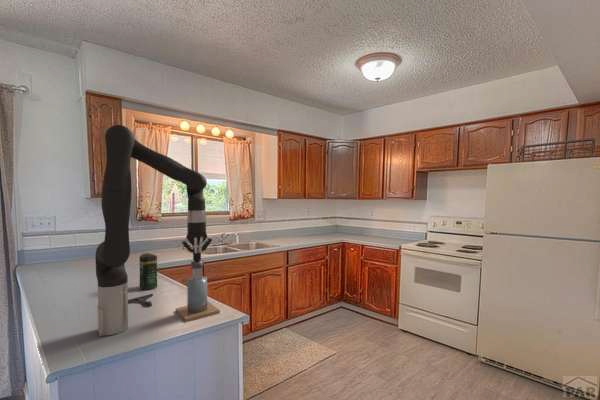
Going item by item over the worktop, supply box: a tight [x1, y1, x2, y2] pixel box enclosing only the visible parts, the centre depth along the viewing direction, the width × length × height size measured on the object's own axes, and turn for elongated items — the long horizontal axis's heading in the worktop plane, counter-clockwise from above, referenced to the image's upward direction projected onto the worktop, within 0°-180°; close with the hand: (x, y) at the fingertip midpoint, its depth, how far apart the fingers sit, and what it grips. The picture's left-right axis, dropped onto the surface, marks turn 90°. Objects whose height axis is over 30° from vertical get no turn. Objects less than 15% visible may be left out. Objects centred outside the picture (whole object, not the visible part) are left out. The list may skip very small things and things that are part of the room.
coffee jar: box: [138, 252, 158, 291], centre depth 156 cm, size 10×8×19 cm
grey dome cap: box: [190, 259, 205, 270], centre depth 121 cm, size 5×8×7 cm, turn 39°
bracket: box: [128, 293, 154, 308], centre depth 134 cm, size 14×15×3 cm
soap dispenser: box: [175, 268, 221, 323], centre depth 123 cm, size 14×14×19 cm
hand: (197, 261), depth 123 cm, fingers closed
